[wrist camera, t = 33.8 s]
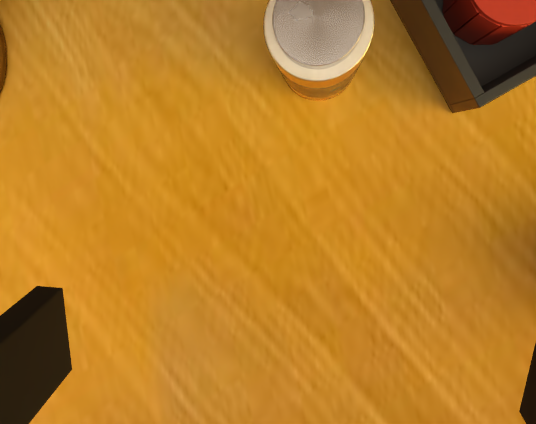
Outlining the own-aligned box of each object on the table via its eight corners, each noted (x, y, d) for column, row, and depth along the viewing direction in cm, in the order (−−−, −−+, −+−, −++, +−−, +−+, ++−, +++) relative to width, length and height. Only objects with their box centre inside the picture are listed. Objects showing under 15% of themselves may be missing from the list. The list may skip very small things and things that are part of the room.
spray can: (267, 49, 42) (238, -2, 27) (333, 7, 41) (340, -70, 26) (305, 114, 43) (296, 100, 28) (370, 75, 42) (399, 37, 26)
